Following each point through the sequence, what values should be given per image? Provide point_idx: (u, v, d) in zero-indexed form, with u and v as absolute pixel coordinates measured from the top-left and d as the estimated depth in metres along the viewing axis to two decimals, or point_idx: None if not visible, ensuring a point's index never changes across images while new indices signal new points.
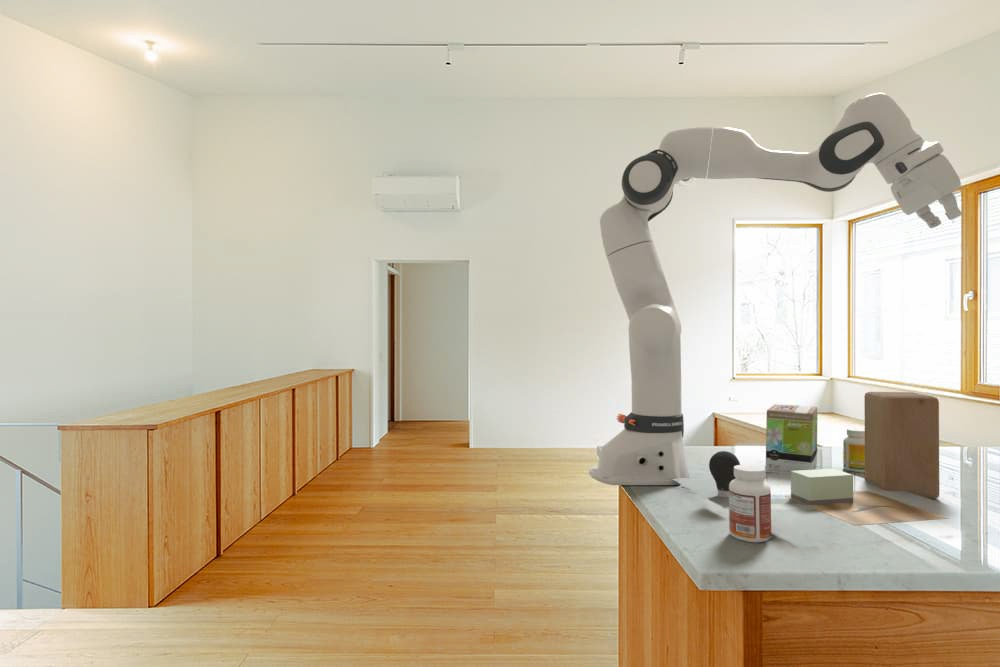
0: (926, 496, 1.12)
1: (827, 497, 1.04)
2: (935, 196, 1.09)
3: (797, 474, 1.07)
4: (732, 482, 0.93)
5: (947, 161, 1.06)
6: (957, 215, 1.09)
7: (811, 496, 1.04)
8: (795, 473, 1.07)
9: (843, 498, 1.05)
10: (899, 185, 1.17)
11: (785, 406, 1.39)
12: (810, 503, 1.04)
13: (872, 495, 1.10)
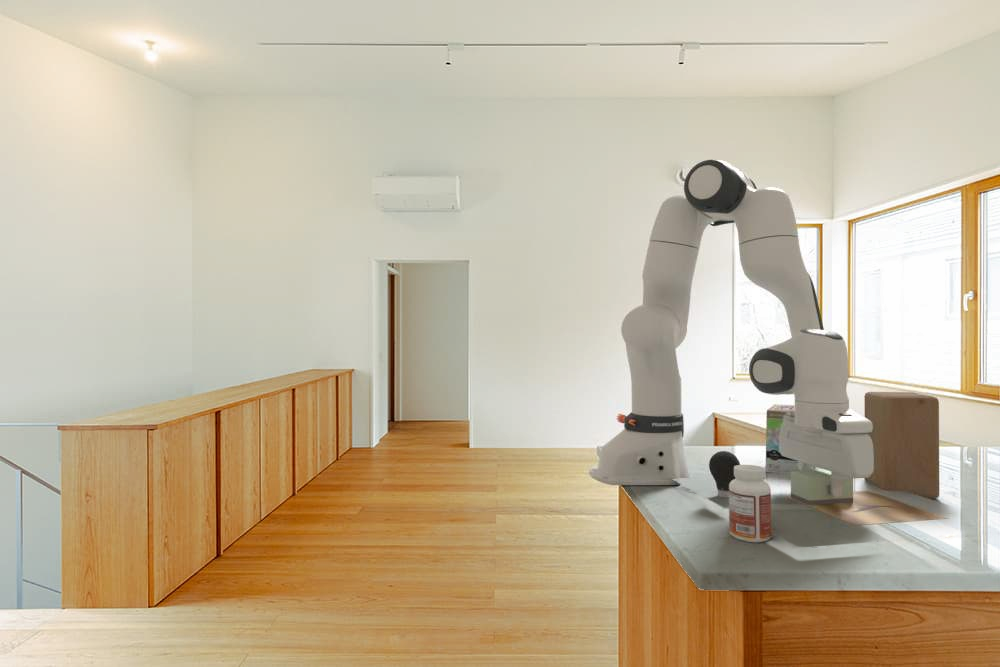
0: (926, 496, 1.12)
1: (827, 497, 1.04)
2: (842, 471, 1.00)
3: (797, 474, 1.07)
4: (732, 482, 0.93)
5: (872, 446, 0.98)
6: (838, 495, 1.03)
7: (811, 496, 1.04)
8: (795, 473, 1.08)
9: (842, 498, 1.05)
10: (806, 433, 1.06)
11: (785, 406, 1.39)
12: (810, 503, 1.04)
13: (872, 495, 1.10)
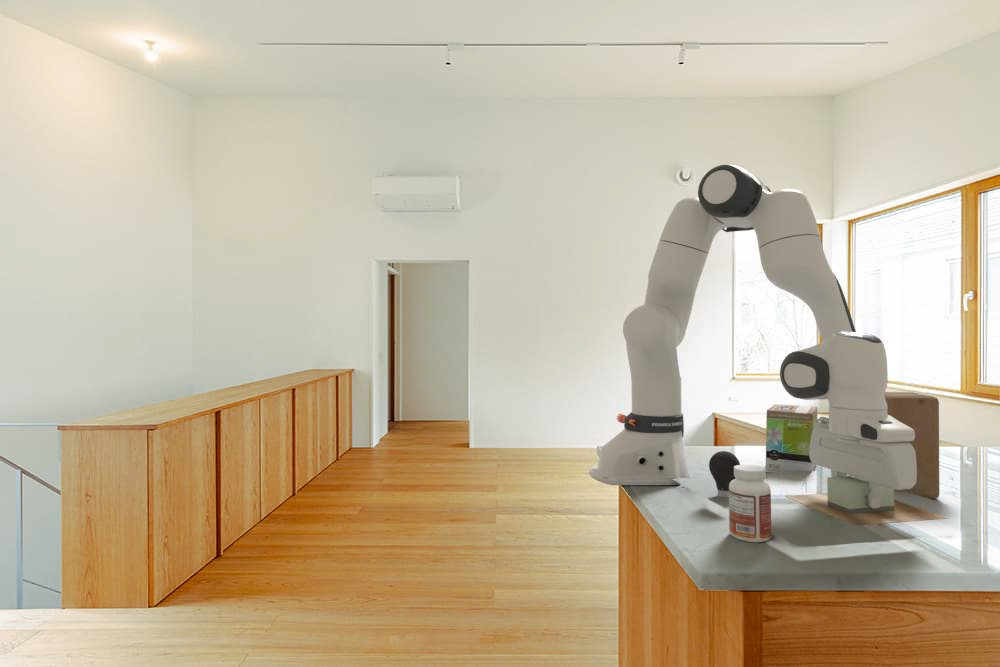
0: (926, 496, 1.12)
1: None
2: (882, 482, 0.94)
3: (835, 481, 1.02)
4: (732, 482, 0.93)
5: (915, 456, 0.93)
6: (876, 506, 0.98)
7: (851, 505, 0.99)
8: (832, 480, 1.02)
9: (883, 506, 1.00)
10: (842, 441, 1.01)
11: (785, 406, 1.39)
12: (850, 512, 0.99)
13: None
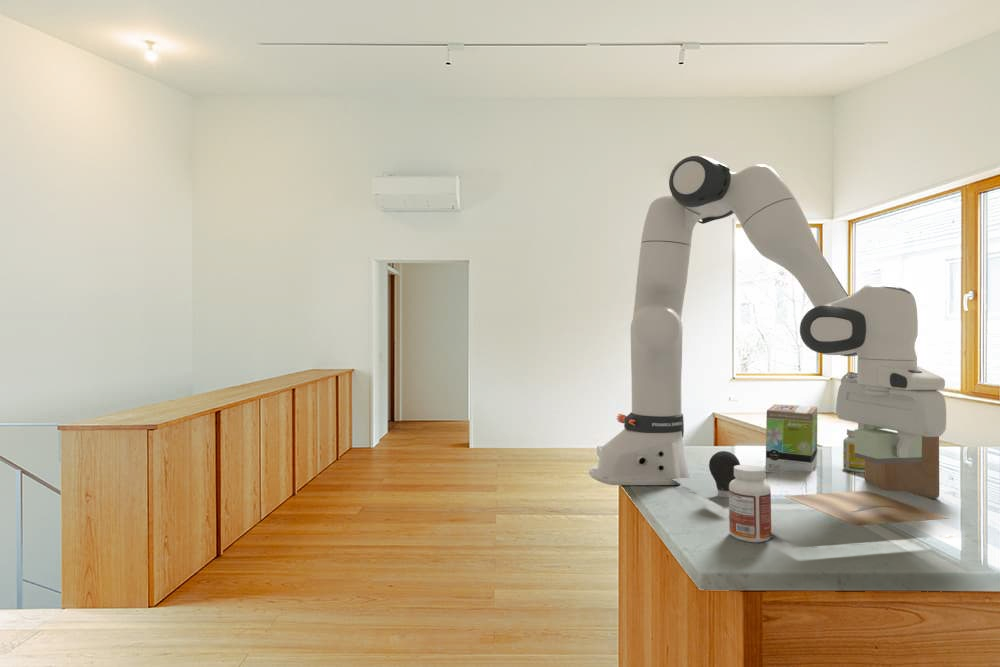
0: (926, 496, 1.12)
1: None
2: (911, 430, 0.95)
3: (862, 432, 1.03)
4: (732, 482, 0.93)
5: (945, 404, 0.94)
6: (904, 456, 0.99)
7: (878, 454, 1.00)
8: (860, 431, 1.03)
9: (911, 457, 1.01)
10: (871, 392, 1.02)
11: (785, 406, 1.39)
12: (877, 461, 1.00)
13: (872, 495, 1.10)
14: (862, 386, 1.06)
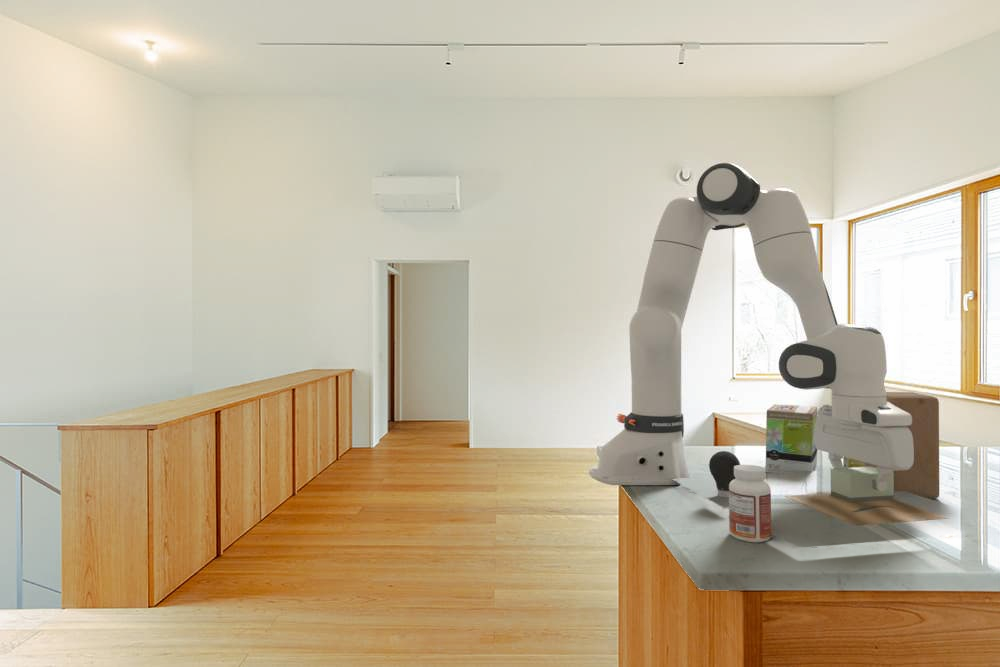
0: (926, 496, 1.12)
1: (868, 494, 1.06)
2: (882, 463, 1.01)
3: (837, 472, 1.08)
4: (732, 482, 0.93)
5: (912, 439, 0.99)
6: (883, 489, 1.03)
7: (852, 494, 1.05)
8: (835, 471, 1.09)
9: (883, 495, 1.07)
10: (844, 426, 1.08)
11: (785, 406, 1.39)
12: (851, 500, 1.05)
13: None
14: (837, 419, 1.11)
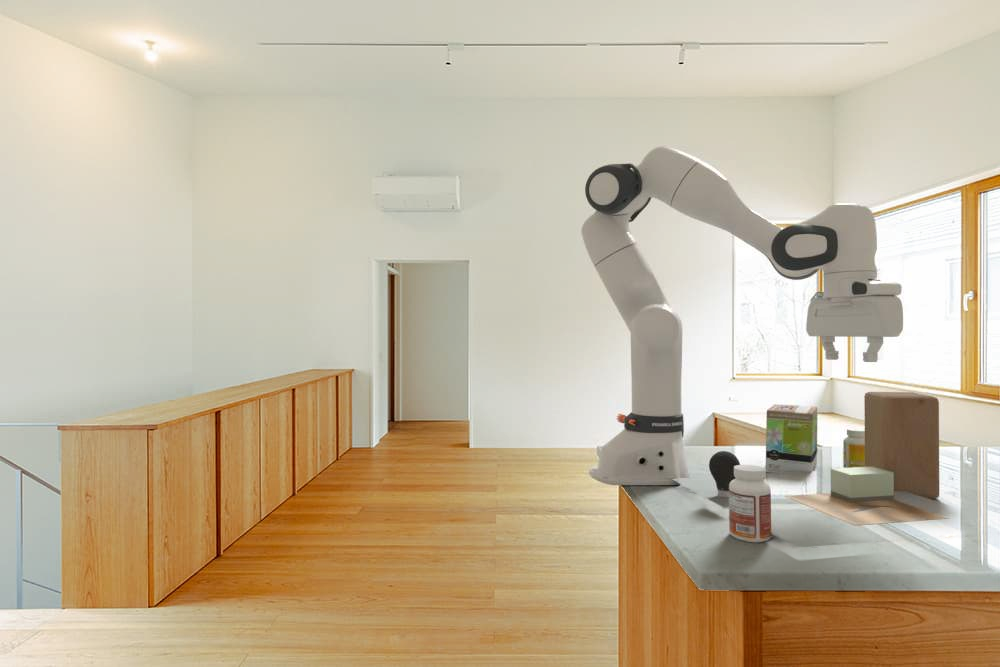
0: (926, 496, 1.12)
1: (868, 494, 1.06)
2: (872, 332, 1.03)
3: (837, 472, 1.08)
4: (732, 482, 0.93)
5: (901, 306, 1.01)
6: (873, 360, 1.05)
7: (852, 494, 1.05)
8: (835, 471, 1.09)
9: (883, 495, 1.07)
10: (836, 304, 1.10)
11: (785, 406, 1.39)
12: (851, 500, 1.05)
13: None
14: (828, 301, 1.13)
